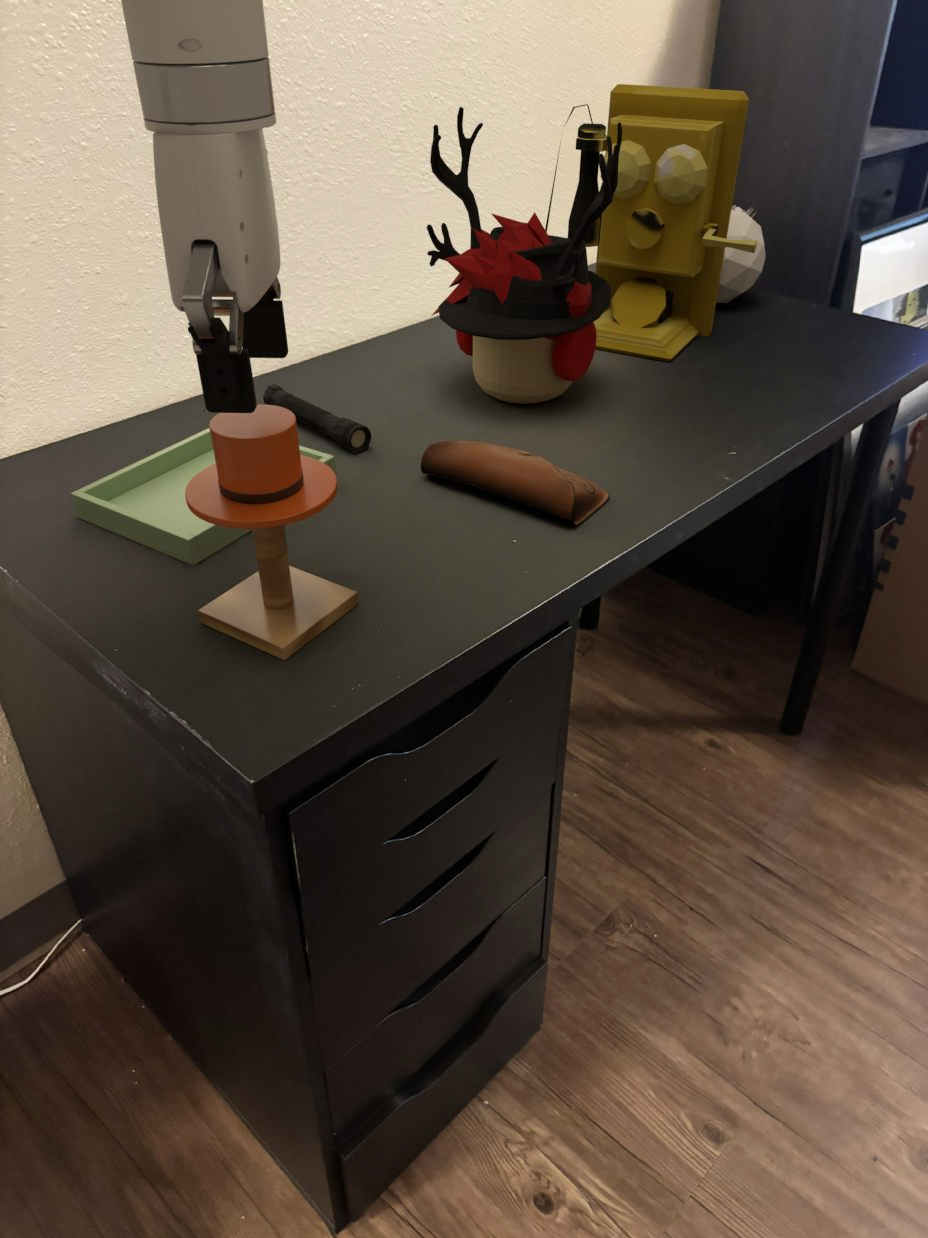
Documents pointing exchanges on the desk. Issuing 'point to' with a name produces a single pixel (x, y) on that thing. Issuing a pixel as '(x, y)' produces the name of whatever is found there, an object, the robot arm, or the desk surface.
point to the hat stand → (277, 601)
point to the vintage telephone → (662, 212)
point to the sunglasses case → (515, 477)
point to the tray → (163, 501)
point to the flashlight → (321, 419)
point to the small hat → (259, 473)
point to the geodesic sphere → (741, 256)
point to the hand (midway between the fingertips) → (250, 382)
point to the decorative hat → (522, 290)
